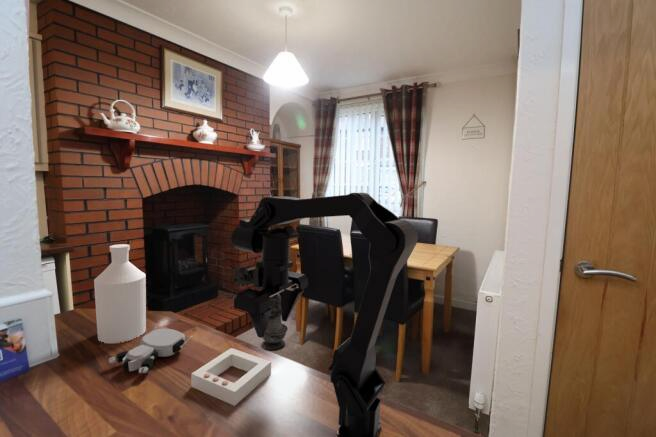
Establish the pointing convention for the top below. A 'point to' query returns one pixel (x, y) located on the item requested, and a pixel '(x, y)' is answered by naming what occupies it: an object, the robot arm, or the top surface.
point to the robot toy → (151, 349)
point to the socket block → (225, 389)
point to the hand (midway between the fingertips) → (272, 328)
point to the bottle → (120, 299)
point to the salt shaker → (274, 327)
